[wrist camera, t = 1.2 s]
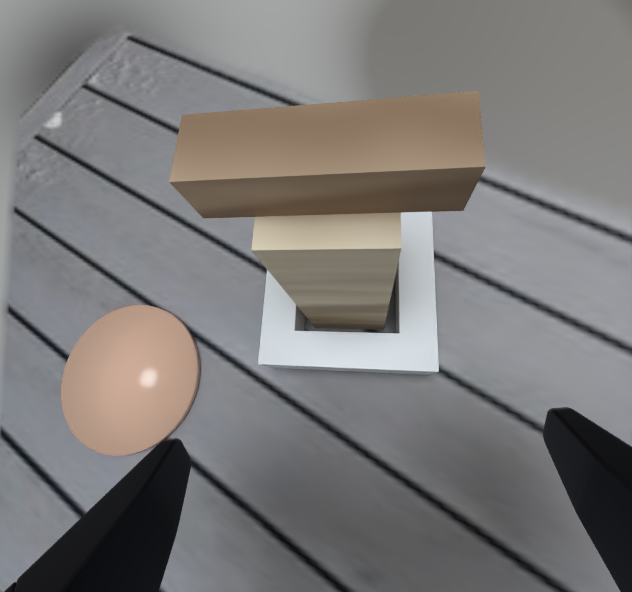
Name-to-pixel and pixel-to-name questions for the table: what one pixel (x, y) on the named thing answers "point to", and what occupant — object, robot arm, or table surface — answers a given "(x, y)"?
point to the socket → (364, 348)
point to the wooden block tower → (333, 189)
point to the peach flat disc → (130, 380)
